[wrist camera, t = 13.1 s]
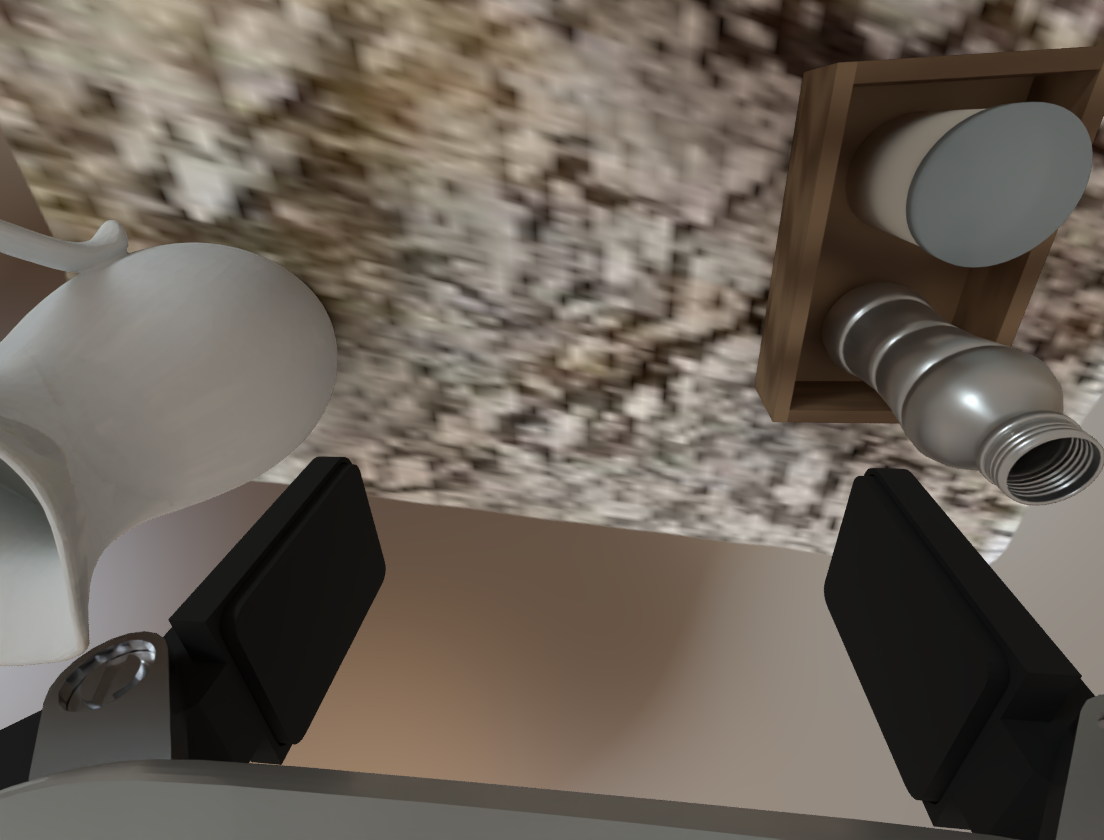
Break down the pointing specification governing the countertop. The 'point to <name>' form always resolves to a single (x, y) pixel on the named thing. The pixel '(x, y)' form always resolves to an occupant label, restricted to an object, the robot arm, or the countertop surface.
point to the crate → (873, 255)
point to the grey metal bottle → (963, 394)
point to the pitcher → (138, 408)
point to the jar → (972, 179)
